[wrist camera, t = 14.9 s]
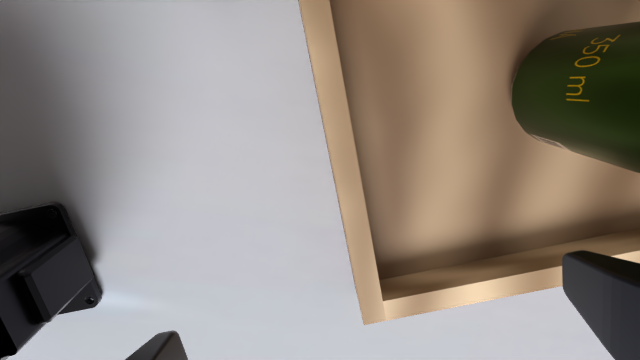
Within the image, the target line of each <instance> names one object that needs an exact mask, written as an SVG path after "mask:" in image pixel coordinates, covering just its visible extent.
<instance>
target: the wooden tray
mask: <svg viewBox="0 0 640 360" xmlns="http://www.w3.org/2000/svg"><path fill="white" fill-rule="evenodd" d="M298 2H299V7H300V12H301V17H302V22H303V27H304V32H305V37H306V42H307V47H308V52H309V57H310V62H311V67H312V72H313V77H314V82H315V87H316V92H317V97H318V102H319V107H320V112H321V117H322V122H323V127H324V132H325V137H326V142H327V147H328V152H329V157H330V162H331V167H332V172H333V177H334V182H335V187H336V192H337V197H338V202H339V207H340V212H341V217H342V222H343V227H344V232H345V237H346V242H347V247H348V252H349V257H350V262H351V267H352V272H353V278H354V283H355V288H356V292H357V297H358V301H359V305H360V310H361V314H362V318H363V323H364V325H366V324H371V323H377V322H382V321H387V320H392V319H397V318H402V317H407V316H412V315H417V314H422V313H427V312H432V311H437V310H442V309H448V308H453V307H458V306H463V305H468V304H473V303H478V302H483V301H488V300H493V299H498V298H503V297H508V296H513V295H519V294H524V293H529V292H534V291H539V290H544V289H549V288H554V287H559V286H563V284H562V257H563V255H564V254H565V253H568V252H573V251H578V250H586V251H591V252H595V253H599V254H603V255H607V256H611V257H616V258H620V259H624V260H628V261H632V262H637V263H640V173H637V172H634V171H631V170H628V169H625V168H621V167H618V166H615V165H612V164H609V163H606V162H603V161H600V160H597V159H594V158H590V157H587V156H584V155H581V154H578V153H575V152H572V151H569V150H566V149H563V148H560V147H556V146H553V145H550V144H547V143H544V142H541V141H538V140H536V139H535V138H533V137H532V136H530V135H529V134H527V133H526V132H525V131H524V130H523V129H522V127H521V126H520V124H519V123H518V122H517V120H516V118H515V116H514V113H513V109H512V106H511V102H510V90H511V83H512V80H513V77H514V74H515V72H516V69H517V68H518V67H519V65H520V64H521V62H522V61H523V59H524V58H525V57H526V55H527V54H528V53H529V52H530V51H531V50H532V49H534V48H535V47H536V46H537V45H538V44H540V43H541V42H542V41H543V40H545V39H546V38H549V37H551V36H553V35H556V34H558V33H560V32H563V31H570V30H578V29H585V28H593V27H601V26H608V25H616V24H624V23H632V22H639V21H640V0H298Z"/></svg>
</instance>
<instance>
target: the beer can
mask: <svg viewBox="0 0 640 360" xmlns="http://www.w3.org/2000/svg"><path fill="white" fill-rule="evenodd" d="M510 102H511V106H512V109H513V113H514V116H515V118H516V120H517V122H518V123H519V124H520V126H521V127H522V129H523V130H524V131H525V132H526V133H527V134H529V135H530V136H532V137H533V138H535V139H536V140H538V141H541V142H544V143H547V144H550V145H553V146H556V147H560V148H563V149H566V150H569V151H572V152H575V153H578V154H581V155H584V156H587V157H590V158H594V159H597V160H600V161H603V162H606V163H609V164H612V165H615V166H618V167H621V168H625V169H628V170H631V171H634V172H637V173H640V21H639V22H632V23H624V24H616V25H608V26H601V27H593V28H585V29H578V30H570V31H563V32H560V33H558V34H556V35H553V36H551V37H549V38H546V39H545V40H543V41H542V42H541V43H540V44H538V45H537V46H536V47H535V48H534V49H532V50H531V51H530V52H529V53H528V54H527V55H526V57H525V58H524V59H523V61H522V62H521V64H520V65H519V67H518V68H517V69H516V72H515V74H514V77H513V80H512V83H511V90H510Z"/></svg>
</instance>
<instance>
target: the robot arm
mask: <svg viewBox="0 0 640 360" xmlns="http://www.w3.org/2000/svg"><path fill="white" fill-rule="evenodd" d="M51 209H53V210H55V211H56V213H57V215H54V214H53V213H52V210H51ZM93 276H94V274H93V272H92V270H91V267H90V265H89V262H88V260H87V258H86V255H85V253H84V251H83V248H82V246H81V243H80V241H79V239H78V238H77V236H76V234H75V231H74V229H73V227H72V224H71V222H70V220H69V217H68V215H67V212H66V210H65V208H64V207H63V206H62V205H61V204H59V203H48V204H44V205H39V206H34V207H29V208H24V209H19V210H14V211H10V212H5V213H0V360H6V359H7V358H8V357H9V356H12V355H15V354H16V353H17V352H18V351H19V350H20V349H21V348H22V347H23V346H24V345H25V344H26V343H27V342H28V341H29V340H30V339H31V338H32V337H33V336H34V335H35V334H36V333H37V332H38V331H39V330H40V329H41V328H42V327H43V326H44V325H45V324H46V323H48V322H50V321H51V320H52V319H53V318H54V317H55V316H56V315H59V314H64V313H69V312H74V311H79V310H84V309H89V308H93V307H96V305H97V304H98V303H99V302H100V301H101V299H102V296H101V293H100V291H99V288H98V286H97V284H96V281H95V279H94V277H93ZM562 284H563V289H564V292H565V294H566V296H567V297H568V298H569V300H570V301H571V302H572V304H573V305H574V307H575V308H576V309H577V311H578V312H579V313H580V315H581V316H582V317H583V319H584V320H585V321H586V323H587V324H588V325H589V327H590V328H591V329H592V331H593V332H594V333H595V335H596V336H597V337H598V339H599V340H600V342H601V343H602V344H603V345H604V347H605V348H606V349H607V351H608V352H609V353H610V354H611V355H612V357H613V358H614V359H615V360H640V263H637V262H632V261H628V260H624V259H620V258H616V257H611V256H607V255H603V254H599V253H595V252H591V251H586V250H578V251H573V252H568V253H565V254H564V255H563V257H562ZM89 297H92V298H93V299H94V300H91V299H90V298H89ZM125 360H188V358H187V355H186V353H185V350H184V347H183V344H182V342H181V339H180V336H179V334H178V333H177V332H176V331H168V332H163V333H159V334H157V335H155V336H154V337H153V338H152V339H150V340H149V341H148V342H147V343H145V344H144V345H143V346H142V347H140V348H139V349H138V350H137V351H135V352H134V353H133V354H132V355H130V356H129V357H128V358H127V359H125Z"/></svg>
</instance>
